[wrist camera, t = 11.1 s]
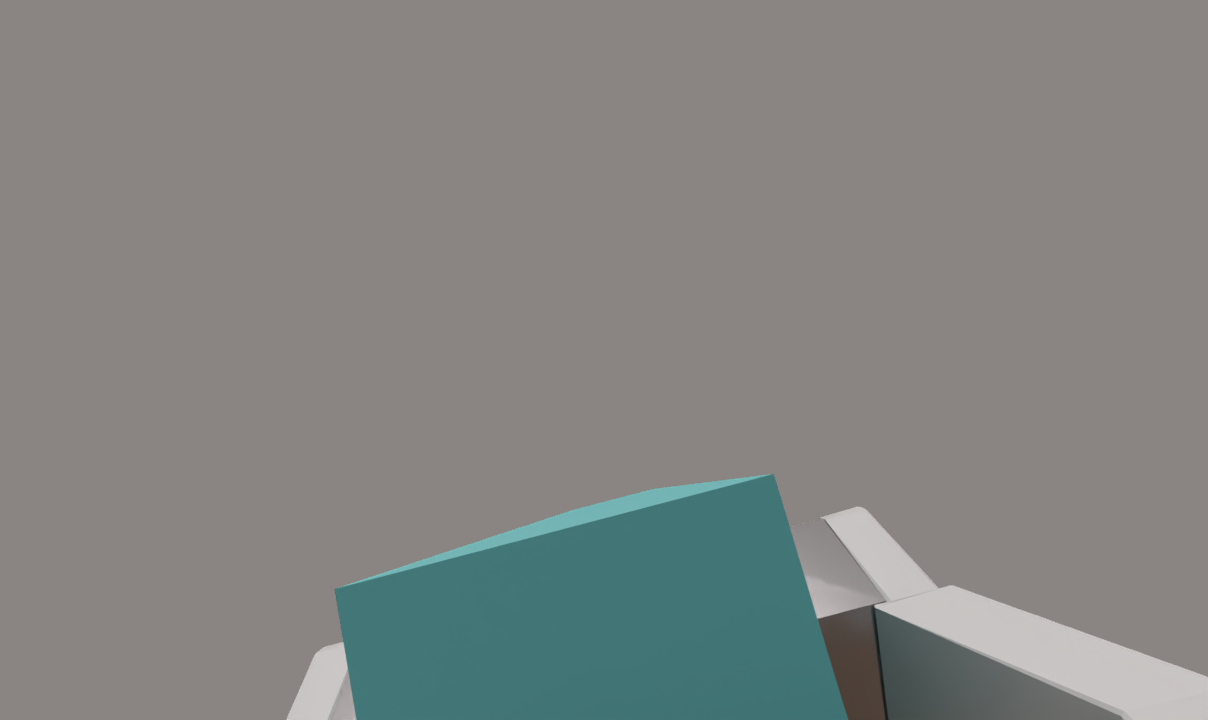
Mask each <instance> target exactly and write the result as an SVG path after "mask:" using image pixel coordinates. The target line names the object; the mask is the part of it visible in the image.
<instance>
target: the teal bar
mask: <svg viewBox="0 0 1208 720" xmlns="http://www.w3.org/2000/svg"><path fill="white" fill-rule="evenodd" d="M335 594H336V600H337V606H338V612H339V618H340V624H341V630H342V636H343V643H344V649H345V655H346V661H347V667H348V673H349V679H350V685H351V691H352V697H353V703H354V709H355V715H356V720H848V718H847V714H846V711H845V708H844V705H843V701H842V698H841V695H840V691H839V688H838V685H837V681H836V678H835V675H834V672H833V668H832V665H831V662H830V658H829V655H828V652H827V648H826V645H825V642H824V639H823V635H822V632H821V629H820V625H819V622H818V619H817V615H816V612H815V609H814V606H813V602H812V599H811V596H810V592H809V589H808V586H807V583H806V579H805V576H804V573H803V569H802V566H801V563H800V559H799V556H798V553H797V550H796V546H795V543H794V540H793V536H792V533H791V530H790V526H789V523H788V520H787V517H786V514H785V510H784V507H783V504H782V500H781V497H780V494H779V491H778V487H777V484H776V480H775V477H774V474H769V475H762V476H754V477H746V478H738V479H730V480H722V481H714V482H706V483H698V484H691V485H682V486H674V487H667V488H659V489H652V490H648V491H644V492H641V493H636V494H632V495H629V496H625V497H621V498H617V499H613V500H610V501H606V502H602V503H598V504H594V505H590V506H587V507H583V508H579V509H575V510H572V511H569V512H566V513H563V514H560V515H557V516H554V517H551V518H548V519H545V520H542V521H539V522H536V523H532V524H530V525H526V526H523V527H520V528H517V529H515V530H511V531H509V532H506V533H502V534H499V535H496V536H493V537H490V538H487V539H484V540H481V541H478V542H475V543H472V544H469V545H466V546H463V547H460V548H457V549H454V550H451V551H448V552H445V553H442V554H439V555H436V556H433V557H430V558H427V559H424V560H421V561H418V562H415V563H412V564H409V565H406V566H403V567H400V568H397V569H394V570H390V571H387V572H385V573H381V574H378V575H375V576H372V577H370V578H367V579H363V580H360V581H358V582H354V583H352V584H348V585H345V586H342V587H339V588H336V589H335Z"/></svg>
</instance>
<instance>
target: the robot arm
mask: <svg viewBox="0 0 1208 720" xmlns="http://www.w3.org/2000/svg"><path fill="white" fill-rule="evenodd" d="M790 530H791V533H792V536H793V540H794V543H795V546H796V550H797V553H798V556H799V559H800V563H801V566H802V569H803V573H804V576H805V579H806V583H807V586H808V589H809V592H810V596H811V599H812V602H813V606H814V609H815V612H816V615H817V619H818V622H819V625H820V629H821V632H822V635H823V639H824V642H825V645H826V648H827V652H828V655H829V658H830V662H831V665H832V668H833V672H834V675H835V678H836V681H837V685H838V688H839V691H840V695H841V698H842V701H843V705H844V708H845V711H846V714H847V718H848V720H1208V677H1206V676H1204V675H1201V674H1198V673H1195V672H1192V671H1190V670H1187V669H1184V668H1181V667H1179V666H1176V665H1173V664H1170V663H1167V662H1164V661H1161V660H1159V659H1156V658H1153V657H1150V656H1148V655H1145V654H1142V653H1140V652H1137V651H1134V650H1131V649H1128V648H1126V647H1123V646H1120V645H1117V644H1114V643H1112V642H1109V641H1106V640H1103V639H1100V638H1098V637H1095V636H1092V635H1089V634H1087V633H1084V632H1081V631H1078V630H1076V629H1073V628H1070V627H1067V626H1064V625H1062V624H1059V623H1056V622H1053V621H1050V620H1048V619H1045V618H1042V617H1039V616H1037V615H1034V614H1031V613H1028V612H1025V611H1023V610H1019V609H1017V608H1014V607H1011V606H1009V605H1006V604H1003V603H1000V602H997V601H995V600H992V599H989V598H986V597H984V596H981V595H978V594H975V593H972V592H970V591H966V590H964V589H961V588H958V587H955V586H953V585H951V586H947V587H943V588H938V587H937V586H936V585H935V584H934V582H933V581H932V580H931V579H930V578H929V577H928V576H927V575H926V574H925V573H924V572H923V571H922V570H921V568H920V567H919V566H918V565H917V564H916V563H915V562H914V561H913V560H912V559H911V557H910V556H909V555H908V554H907V553H906V552H905V551H904V550H903V549H902V548H901V547H900V546H899V544H898V543H897V542H896V541H895V540H894V539H893V538H892V537H891V536H890V535H889V534H888V532H886V531H885V529H884V528H883V527H882V526H881V525H880V524H879V523H878V522H877V521H876V519H875V518H874V517H873V516H872V515H871V514H870V513H869V512H868V511H867V510H866V509H864V508H861V507H859V506H858V507H855V508H851V509H848V510H845V511H841V512H838V513H834V514H831V515H827V516H824V517H821V518H819V519H818V520H815V521H811V522H808V523H804V524H800V525H796V526H793V527H790ZM287 720H356V715H355V709H354V703H353V697H352V691H351V685H350V679H349V673H348V667H347V661H346V655H345V649H344V643H343V642H341V643H337V644H334V645H330V646H326V647H324V648H322V649H321V650H320V651H318V652H317V653H316V654H315V656H314V658H313V660H312V662H311V664H310V667H309V669H308V671H307V674H306V676H305V678H304V680H303V683H302V685H301V687H300V689H299V692H298V694H297V696H296V698H295V701H294V703H293V705H292V708H291V710H290V712H289V714H288V717H287Z"/></svg>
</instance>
